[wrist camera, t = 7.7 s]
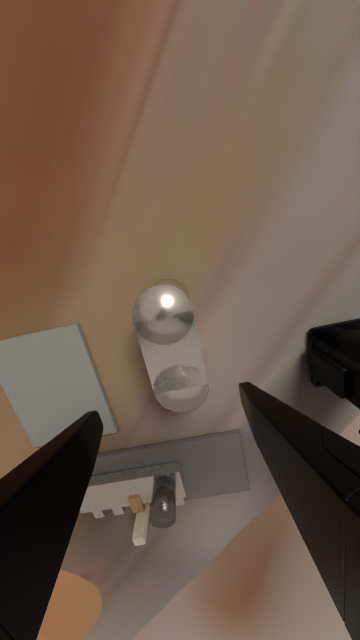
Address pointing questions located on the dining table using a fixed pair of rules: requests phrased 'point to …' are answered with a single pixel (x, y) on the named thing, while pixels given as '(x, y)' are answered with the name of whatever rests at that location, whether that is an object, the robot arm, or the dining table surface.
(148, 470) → the rack
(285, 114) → the dining table surface
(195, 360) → the chain link
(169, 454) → the rail base
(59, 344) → the pad
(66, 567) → the dining table surface
